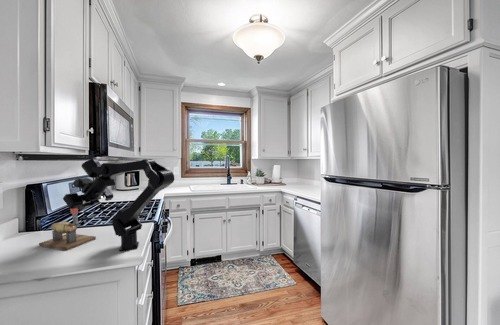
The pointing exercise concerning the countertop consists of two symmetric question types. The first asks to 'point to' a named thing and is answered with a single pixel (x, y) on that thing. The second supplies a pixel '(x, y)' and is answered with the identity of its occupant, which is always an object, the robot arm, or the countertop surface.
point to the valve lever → (75, 216)
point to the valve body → (64, 231)
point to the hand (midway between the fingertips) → (80, 209)
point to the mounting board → (66, 246)
